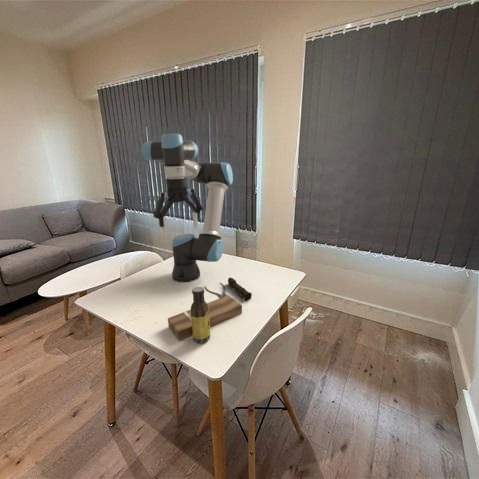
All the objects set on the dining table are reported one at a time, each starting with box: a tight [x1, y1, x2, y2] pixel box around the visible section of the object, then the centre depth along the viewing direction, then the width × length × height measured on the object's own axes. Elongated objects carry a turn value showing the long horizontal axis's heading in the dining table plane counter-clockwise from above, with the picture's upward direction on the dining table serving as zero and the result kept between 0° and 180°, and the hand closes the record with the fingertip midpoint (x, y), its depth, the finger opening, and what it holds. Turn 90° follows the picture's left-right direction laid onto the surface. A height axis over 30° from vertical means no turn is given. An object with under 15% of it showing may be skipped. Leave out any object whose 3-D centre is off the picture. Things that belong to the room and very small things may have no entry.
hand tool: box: [227, 277, 252, 302], centre depth 126 cm, size 19×4×5 cm, turn 28°
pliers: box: [204, 282, 229, 299], centre depth 126 cm, size 10×1×20 cm
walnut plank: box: [167, 294, 243, 342], centre depth 105 cm, size 10×28×4 cm, turn 126°
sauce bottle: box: [190, 286, 211, 344], centre depth 92 cm, size 6×6×20 cm
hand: (181, 231), depth 106 cm, fingers open, 13 cm apart
